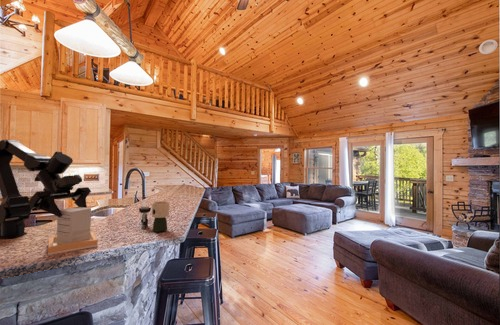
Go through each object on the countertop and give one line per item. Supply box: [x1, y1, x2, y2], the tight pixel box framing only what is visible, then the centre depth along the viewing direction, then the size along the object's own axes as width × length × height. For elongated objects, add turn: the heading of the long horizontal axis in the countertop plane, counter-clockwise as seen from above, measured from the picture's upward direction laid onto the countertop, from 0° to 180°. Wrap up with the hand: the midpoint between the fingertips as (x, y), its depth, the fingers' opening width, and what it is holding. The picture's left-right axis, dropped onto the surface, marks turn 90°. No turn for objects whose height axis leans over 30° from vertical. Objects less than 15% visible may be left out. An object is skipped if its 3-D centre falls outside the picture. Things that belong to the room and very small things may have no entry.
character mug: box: [151, 200, 170, 233], centre depth 102 cm, size 11×7×13 cm, turn 24°
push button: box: [138, 205, 152, 229], centre depth 107 cm, size 7×5×10 cm
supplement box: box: [56, 206, 92, 245], centre depth 83 cm, size 7×7×13 cm
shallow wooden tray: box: [47, 230, 99, 256], centre depth 82 cm, size 13×13×2 cm
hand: (74, 213), depth 82 cm, fingers open, 9 cm apart
